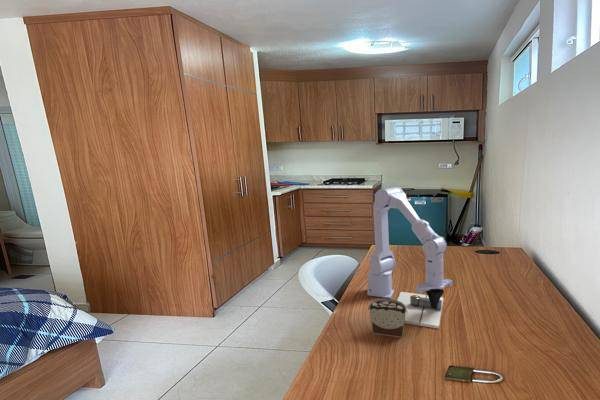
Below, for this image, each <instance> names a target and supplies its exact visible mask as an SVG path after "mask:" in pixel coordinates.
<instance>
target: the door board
mask: <svg viewBox="0 0 600 400" xmlns="http://www.w3.org/2000/svg"><path fill="white" fill-rule="evenodd" d="M412 295H417V296H420V297H422V298H429V297H428V295H427V294H422V293H414V292H413V293H412V292H406V291H400V293H399V295H398V297H397V299H396V300H397V301H400V302H402V303H403V304H404V305H405V306H406V309H407V312H406V314H405V322H404V324H407V325H413V326H419V327H420V326H421V327H427V328H432V329H438V330H439V329H440V323H441V316H442V310H443V307H442V308H441V309H433V308H427V307H421V306H418V307H415V306H412V305H410V296H412ZM440 300H442V305H443V303H444V296H441V298H440ZM407 313H408V314H407Z"/></svg>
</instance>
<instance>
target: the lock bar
mask: <svg viewBox="0 0 600 400" xmlns="http://www.w3.org/2000/svg"><path fill="white" fill-rule="evenodd" d="M410 305H412V306H415V307H418V306H421V307H427V308H432V307H431V303H430V300H429V298H422V297H420V296H417V295H412V296H410ZM441 308H442V309H443V304H442V300H439V303H438V306H437V309H441Z"/></svg>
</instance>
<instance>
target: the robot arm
mask: <svg viewBox="0 0 600 400" xmlns="http://www.w3.org/2000/svg"><path fill="white" fill-rule="evenodd" d="M372 208H373V209H372V211H373V228H374V229H373V232H374V251H372V253H371V254H370V260H369V264H368V267H369V271H368V274H367V279H366V280H367V281H366V282H367V285H366V286H367V293H366V296H369V297H377V298H383V299H391V298H392V296H393V294H394V292H395V290H394V289H392V282H393V281H392V279H393V278H392V274H393V272H394V271H393V270H394V269H395V268H396V260H395V256H394V252H393V251H392V250H391V249H390V240H389V239H390V237H389V234H390V233H389V218H388V217H389V215H388V213H389V210H390V209H391V208H392V209H397V210H398V211H400V212H401V214H402V215H403V216H404V217H405V218H406V219H407V221H408V222H409V223H410V224H411V231H413V233H414V235H415V236H416V237H417V239H418V240H419V241H420V243H421V244H422V251H423V252H424V257H425V281H424V282H423V283H421V284H419V285H416V286H415V292H416V293H417V294H422V293H424V292H425V294H426V295H428V297H429V300H430V303H431V307H432V308H433V309H437V306H438V303H439V300H440V298H441V297H443V295H444V293H445V288H446V287H448V286H449V287H452V286H453V280H451V279H448V278H444V252H445V251H446V250H447V248H448V243H447V241H446V239H445V237H443V236H440V235H438V234H437V233H436V232H435V231H434V229H432V227H431V226H430V223H429V222H428V221H426V220H425V219H421V218H420V217H419V216H418V214H417V212H416V211H415V209H414V208H413V206H412V205H411V203H410V202H409V201H408V198H407V194H406V193H405V192H404V190H403V189H402V188H401V187H400V186H393V187H388V188H380V189H378V190H377V191H376V192H375V193H374V202H373V207H372Z"/></svg>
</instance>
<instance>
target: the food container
mask: <svg viewBox="0 0 600 400" xmlns="http://www.w3.org/2000/svg"><path fill="white" fill-rule="evenodd" d="M367 311H369V315H370V321H371V322H370V323H371V330H372V331H371V333H372V334H374V335H378V336H388V337H393V338H402V339H403V337H404V329H405V323H404V322H405V314H406V312H407V309H406V306H405V305H404V304H403V303H402V302H400V301H397V299H391V298H380V299H379V298H377V299H375V300H374V299H373V300H372V301H370V303H369V304H368V307H367ZM407 314H408V313H407Z"/></svg>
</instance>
